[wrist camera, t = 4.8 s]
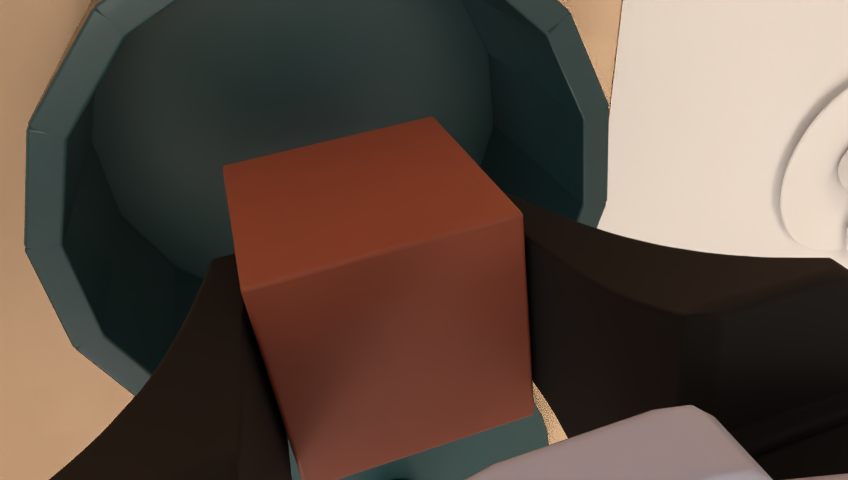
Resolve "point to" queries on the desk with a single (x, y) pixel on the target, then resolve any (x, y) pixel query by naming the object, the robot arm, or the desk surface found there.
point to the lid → (459, 454)
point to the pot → (274, 133)
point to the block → (382, 294)
